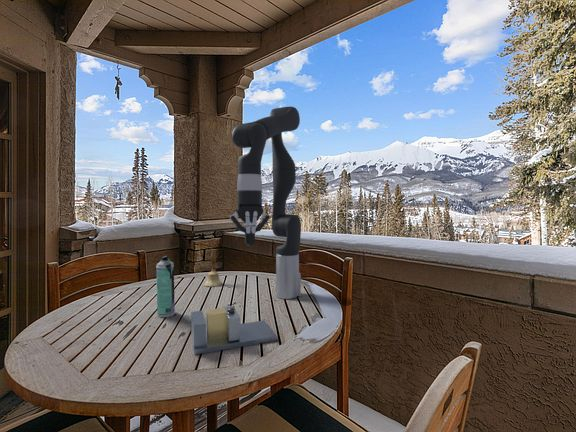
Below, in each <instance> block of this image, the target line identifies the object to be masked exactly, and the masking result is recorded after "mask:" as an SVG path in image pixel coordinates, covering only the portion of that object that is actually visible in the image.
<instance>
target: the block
mask: <svg viewBox="0 0 576 432" xmlns="http://www.w3.org/2000/svg"><path fill="white" fill-rule="evenodd" d="M205 316H206V323H207V337H208V340H214V339H221V338H227V312H226V310H225V308H223V307H219V308H212V309H206V315H205Z"/></svg>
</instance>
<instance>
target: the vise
mask: <svg viewBox="0 0 576 432" xmlns="http://www.w3.org/2000/svg"><path fill="white" fill-rule="evenodd" d="M204 313H205V312H203V310H197V311H196V310H195V311H191V312H190V315H191V316H190V318H191V319H190V320H191V322H190V323H191V324H190V325H191V326H190V327H191V330H190V333H191V335H190V336H191V341H192V348H193V354H194V355H200V354H201V355H202V354H207V353H211V352H218V351H224V350H230V349H235V348H242V347H247V346H253V345H258V344H264V343H269V342H270V343H272V342H276V341H278V336H277V334H276V333H275V332H274V330H273V329H272V328H271V326H269V325H268V323H267V322H266V320H258V321H257V320H256V321H251V322H245V323H243V322H242V323H240V340H235V341H229V340H228V338H221V339H214V340H208V337H207V319H206V316H205V314H204Z"/></svg>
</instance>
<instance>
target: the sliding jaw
mask: <svg viewBox="0 0 576 432" xmlns="http://www.w3.org/2000/svg"><path fill="white" fill-rule="evenodd" d="M222 308H225V310H226V312H227V338H228V340H229V341H235V340H240V324H241V316H240V315H239V313H238V312H237V310H236V309H235V306H234V305H228V306H222Z"/></svg>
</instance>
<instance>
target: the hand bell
mask: <svg viewBox="0 0 576 432" xmlns="http://www.w3.org/2000/svg"><path fill="white" fill-rule="evenodd" d="M210 262H211V271H210V272H208V273H207V279H206V282H205V283H204V284H203V285H204V286H205V287H207V286H209V288H212V287H214V286H216V287H219V285H220V286H222V285H223V284H222V283H223V281H222V280H221V279H220V277H219V272H217V271H216V262H217V253H216V250H211V254H210ZM221 284H222V285H221Z"/></svg>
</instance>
